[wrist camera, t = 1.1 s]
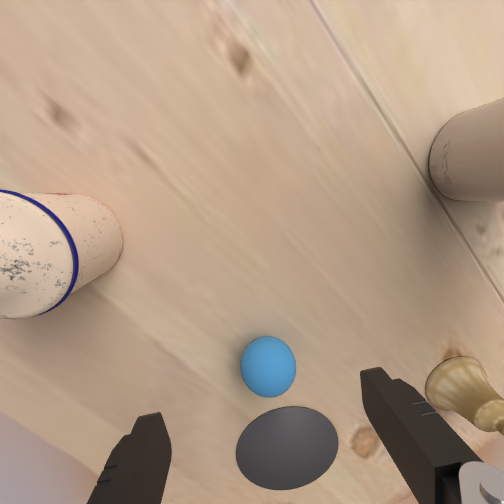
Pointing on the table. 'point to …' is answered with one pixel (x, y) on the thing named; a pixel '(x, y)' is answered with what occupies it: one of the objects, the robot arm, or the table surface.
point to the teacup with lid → (51, 249)
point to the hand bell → (466, 393)
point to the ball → (268, 367)
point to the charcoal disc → (287, 448)
